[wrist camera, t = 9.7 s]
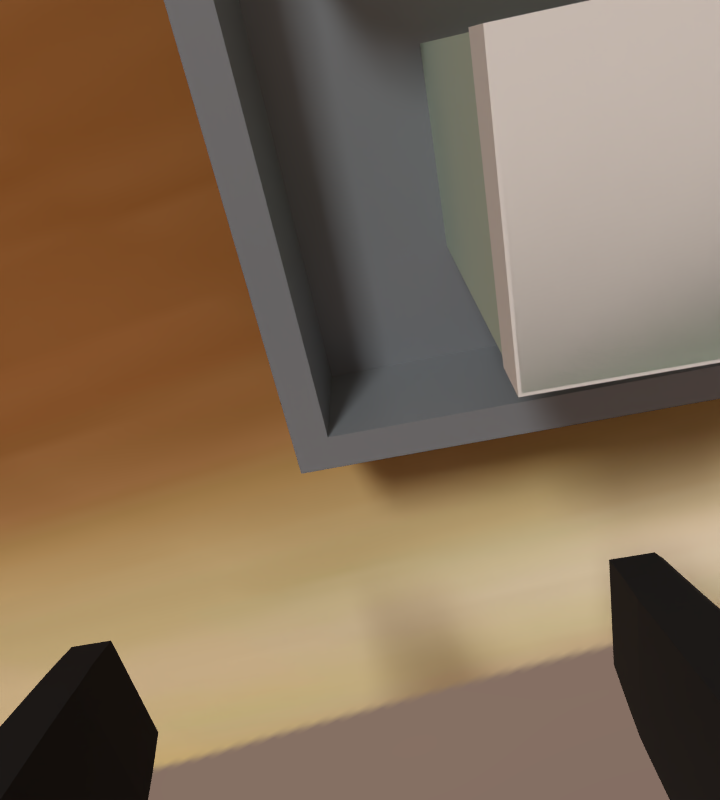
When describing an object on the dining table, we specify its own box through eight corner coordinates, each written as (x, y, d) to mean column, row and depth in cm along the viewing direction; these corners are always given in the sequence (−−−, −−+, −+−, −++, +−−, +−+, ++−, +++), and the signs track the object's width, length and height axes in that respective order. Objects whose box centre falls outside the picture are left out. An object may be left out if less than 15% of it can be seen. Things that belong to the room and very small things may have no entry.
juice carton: (632, -6, 14) (930, -73, 7) (633, 212, 16) (864, 337, 9) (417, 41, 14) (483, 22, 7) (445, 248, 16) (518, 397, 9)
